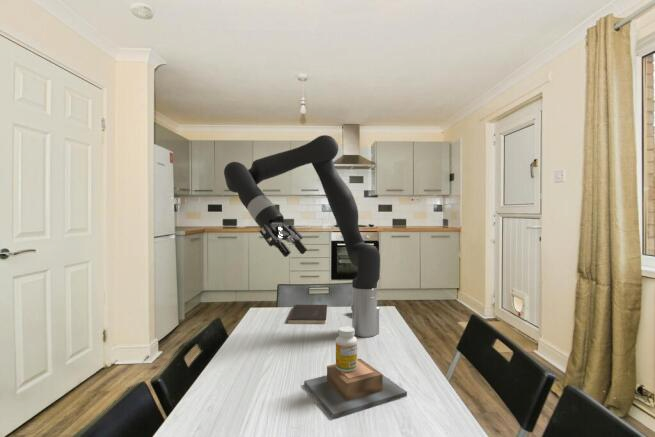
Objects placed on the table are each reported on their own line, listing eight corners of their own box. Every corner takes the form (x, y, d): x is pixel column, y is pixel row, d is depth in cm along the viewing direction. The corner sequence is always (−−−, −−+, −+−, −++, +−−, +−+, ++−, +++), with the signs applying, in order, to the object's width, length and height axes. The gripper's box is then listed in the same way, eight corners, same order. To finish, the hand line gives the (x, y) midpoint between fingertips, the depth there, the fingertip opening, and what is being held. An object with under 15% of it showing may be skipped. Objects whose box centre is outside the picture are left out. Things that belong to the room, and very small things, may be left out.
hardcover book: (327, 309, 155) (327, 304, 155) (326, 325, 132) (326, 319, 132) (293, 309, 155) (293, 304, 155) (286, 324, 132) (286, 319, 132)
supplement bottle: (337, 362, 85) (337, 324, 85) (358, 363, 84) (358, 326, 84) (333, 371, 79) (334, 331, 80) (355, 373, 78) (356, 333, 78)
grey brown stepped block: (369, 368, 92) (369, 350, 92) (406, 395, 78) (406, 374, 78) (304, 384, 83) (304, 364, 83) (333, 418, 69) (333, 394, 69)
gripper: (256, 203, 91) (290, 246, 86) (286, 205, 104) (317, 243, 98) (242, 222, 93) (274, 265, 88) (272, 222, 106) (302, 259, 101)
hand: (296, 253), depth 93 cm, fingers open, 8 cm apart
